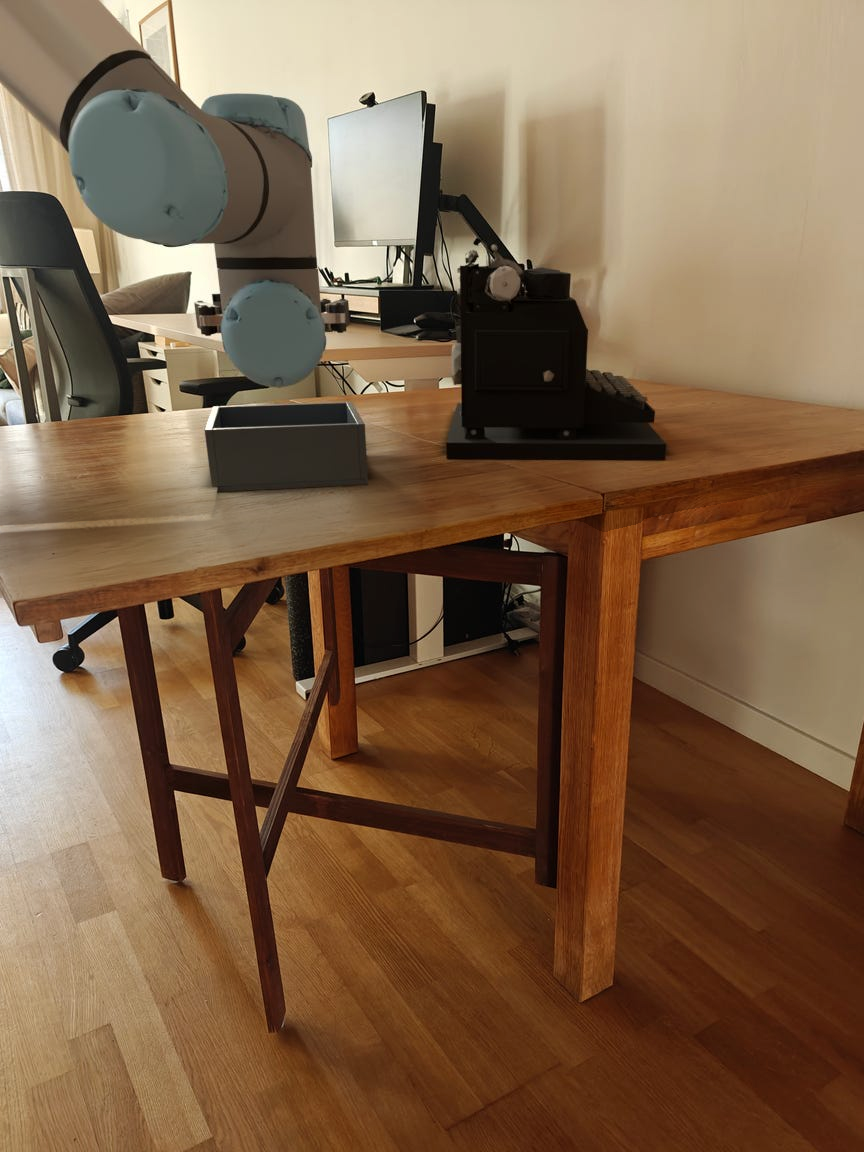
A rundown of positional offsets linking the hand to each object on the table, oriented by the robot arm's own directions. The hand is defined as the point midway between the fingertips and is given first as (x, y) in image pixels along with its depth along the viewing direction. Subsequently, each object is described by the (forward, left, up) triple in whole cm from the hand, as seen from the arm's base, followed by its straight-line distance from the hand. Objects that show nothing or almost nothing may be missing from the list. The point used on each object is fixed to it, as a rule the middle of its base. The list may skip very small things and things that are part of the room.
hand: (273, 309), depth 96 cm
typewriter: (+36, +11, -18) cm, 42 cm away
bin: (0, -4, -18) cm, 18 cm away
